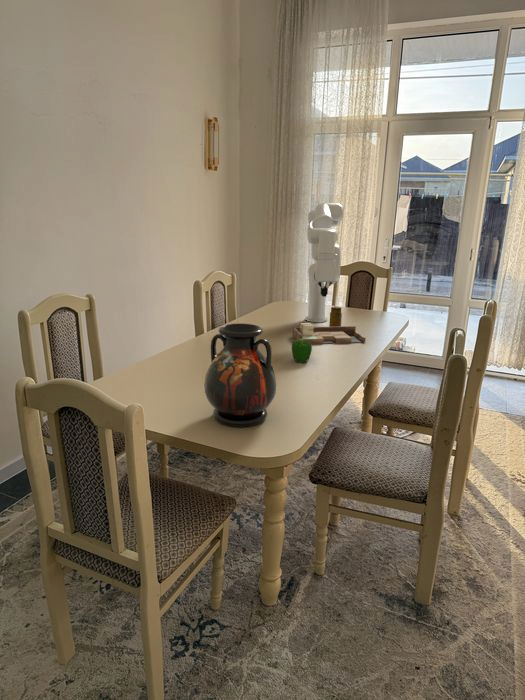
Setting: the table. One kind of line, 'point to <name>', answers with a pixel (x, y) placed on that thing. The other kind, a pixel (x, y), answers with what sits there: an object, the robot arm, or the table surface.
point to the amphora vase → (240, 376)
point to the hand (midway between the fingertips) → (323, 296)
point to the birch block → (306, 329)
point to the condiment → (335, 317)
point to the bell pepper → (301, 350)
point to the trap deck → (330, 335)
